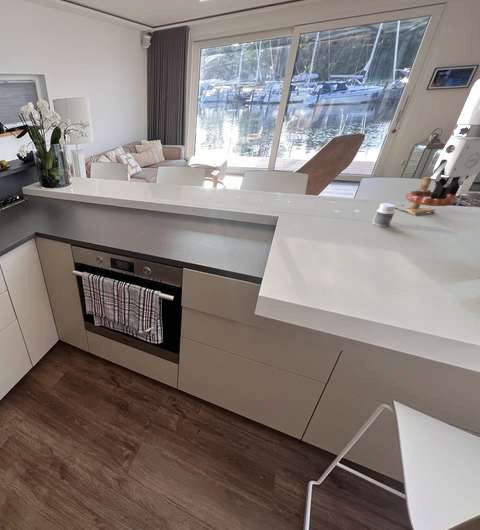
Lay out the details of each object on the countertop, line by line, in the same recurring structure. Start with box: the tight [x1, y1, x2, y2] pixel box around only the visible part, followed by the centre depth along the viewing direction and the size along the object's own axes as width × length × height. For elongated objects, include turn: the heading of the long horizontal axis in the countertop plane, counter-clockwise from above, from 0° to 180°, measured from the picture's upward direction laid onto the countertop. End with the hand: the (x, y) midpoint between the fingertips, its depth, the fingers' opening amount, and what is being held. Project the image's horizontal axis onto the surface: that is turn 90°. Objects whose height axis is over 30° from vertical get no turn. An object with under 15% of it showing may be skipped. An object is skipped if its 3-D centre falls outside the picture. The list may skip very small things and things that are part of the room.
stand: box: [406, 176, 436, 216], centre depth 112 cm, size 8×8×13 cm
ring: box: [405, 189, 458, 207], centre depth 84 cm, size 10×10×2 cm
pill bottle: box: [371, 202, 396, 228], centre depth 103 cm, size 5×5×8 cm
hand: (441, 198), depth 84 cm, fingers closed on ring, 2 cm apart
